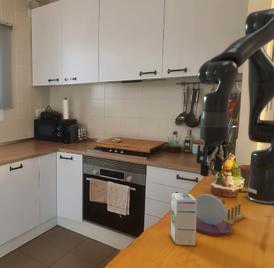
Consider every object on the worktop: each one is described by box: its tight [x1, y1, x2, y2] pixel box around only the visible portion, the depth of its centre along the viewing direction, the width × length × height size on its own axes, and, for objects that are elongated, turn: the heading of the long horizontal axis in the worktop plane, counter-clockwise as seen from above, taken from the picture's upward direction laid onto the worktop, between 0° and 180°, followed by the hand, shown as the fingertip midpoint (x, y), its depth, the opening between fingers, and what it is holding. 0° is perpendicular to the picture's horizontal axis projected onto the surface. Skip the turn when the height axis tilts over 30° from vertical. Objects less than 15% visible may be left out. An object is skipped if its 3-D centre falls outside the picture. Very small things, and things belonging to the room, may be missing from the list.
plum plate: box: [196, 215, 233, 237], centre depth 93 cm, size 13×13×1 cm
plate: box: [195, 193, 227, 225], centre depth 92 cm, size 1×10×10 cm, turn 31°
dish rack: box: [221, 198, 245, 226], centre depth 99 cm, size 10×8×5 cm
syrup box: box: [170, 192, 197, 246], centre depth 84 cm, size 6×6×14 cm
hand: (211, 173), depth 90 cm, fingers open, 8 cm apart
